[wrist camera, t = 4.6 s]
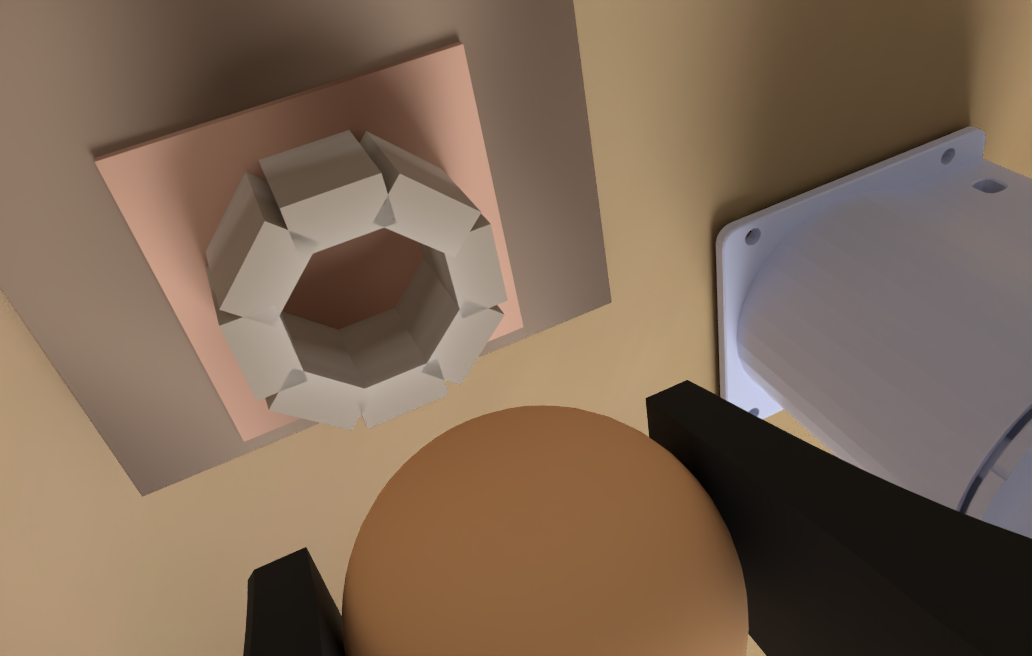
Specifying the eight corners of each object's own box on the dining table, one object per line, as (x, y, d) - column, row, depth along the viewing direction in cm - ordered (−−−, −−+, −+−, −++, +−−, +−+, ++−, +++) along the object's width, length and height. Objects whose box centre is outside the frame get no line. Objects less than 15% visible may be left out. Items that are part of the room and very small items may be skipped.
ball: (604, 282, 10) (862, 533, 7) (632, 516, 13) (827, 781, 9) (251, 420, 9) (343, 800, 6) (362, 643, 12) (470, 993, 8)
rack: (426, -790, 11) (549, -1003, 8) (584, 275, 22) (663, 353, 19) (-622, -710, 9) (-1012, -982, 6) (139, 454, 20) (148, 578, 16)
